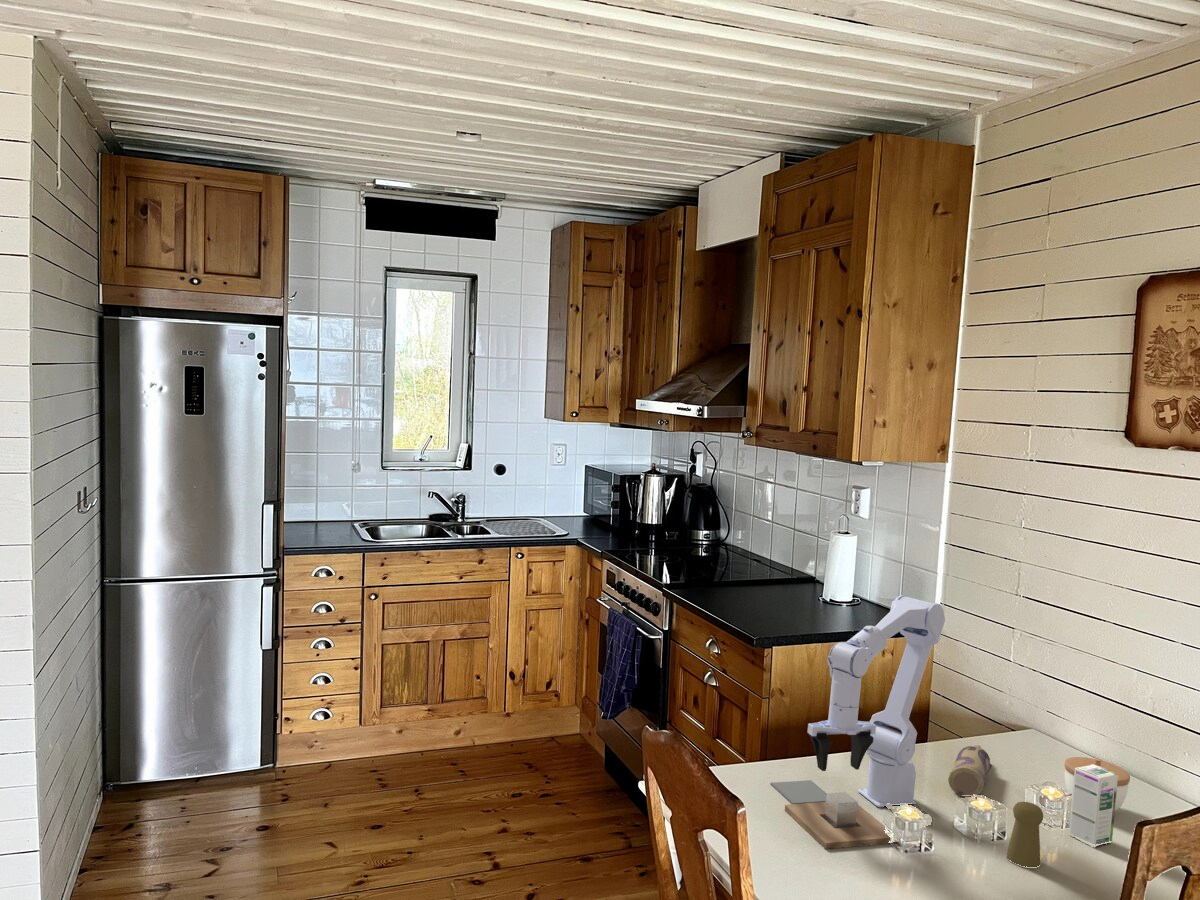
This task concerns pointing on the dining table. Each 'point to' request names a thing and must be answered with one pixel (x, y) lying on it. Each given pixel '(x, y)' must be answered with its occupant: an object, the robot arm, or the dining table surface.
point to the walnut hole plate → (828, 836)
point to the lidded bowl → (1083, 761)
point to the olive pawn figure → (1025, 835)
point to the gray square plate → (800, 791)
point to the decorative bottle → (969, 771)
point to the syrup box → (1093, 804)
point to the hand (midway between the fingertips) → (838, 768)
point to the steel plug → (840, 810)
